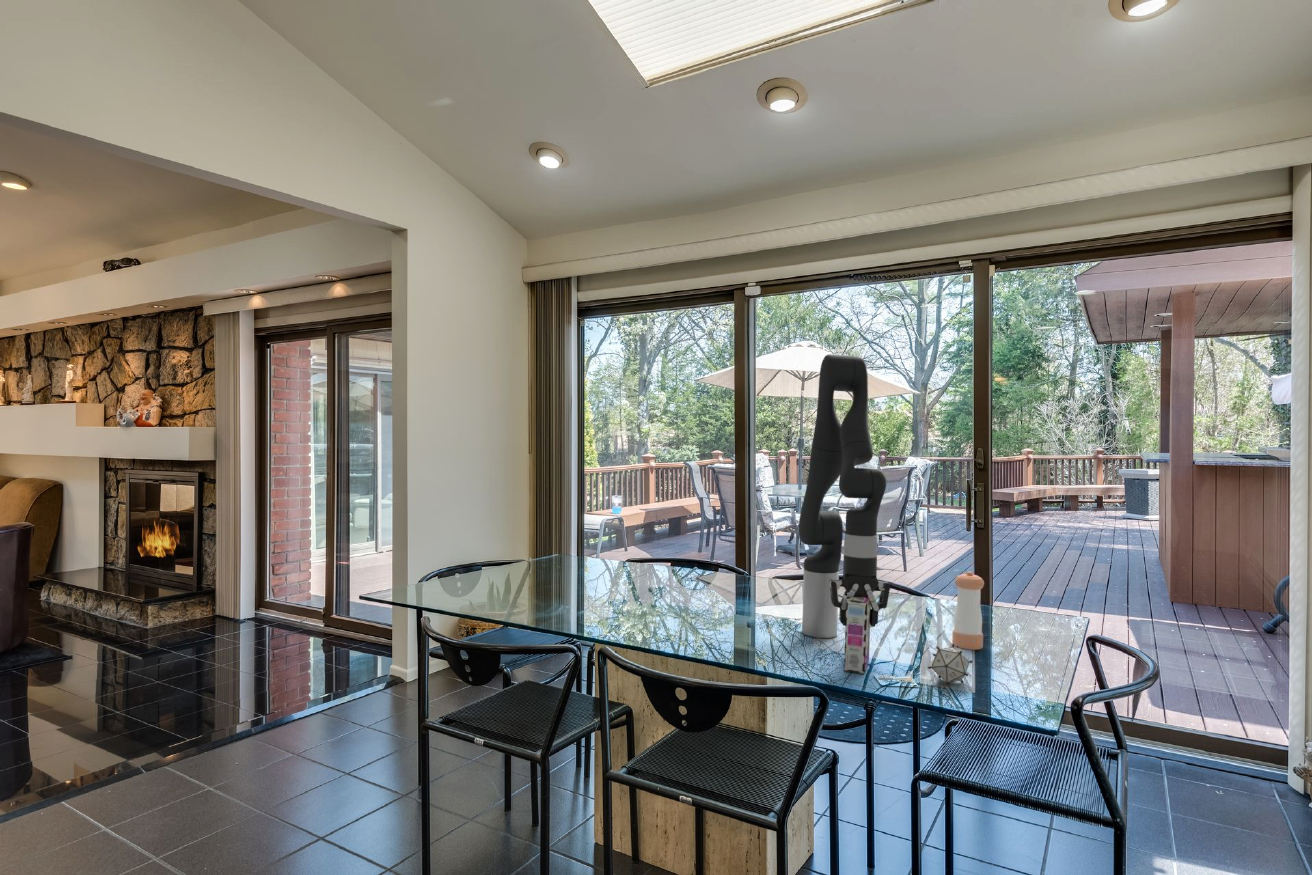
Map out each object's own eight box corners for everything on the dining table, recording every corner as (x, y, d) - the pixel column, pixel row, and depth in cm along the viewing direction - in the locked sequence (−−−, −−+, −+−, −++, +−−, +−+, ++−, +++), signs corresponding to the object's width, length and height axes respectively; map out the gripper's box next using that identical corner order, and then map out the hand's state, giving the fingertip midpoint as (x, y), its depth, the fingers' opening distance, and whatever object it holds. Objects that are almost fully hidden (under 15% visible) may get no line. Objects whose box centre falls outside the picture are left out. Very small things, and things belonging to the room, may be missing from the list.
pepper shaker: (965, 650, 183) (967, 575, 183) (946, 642, 190) (948, 569, 190) (989, 648, 185) (991, 574, 184) (969, 640, 192) (971, 568, 192)
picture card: (873, 676, 162) (873, 674, 162) (910, 677, 161) (910, 676, 161) (881, 686, 156) (881, 684, 156) (918, 687, 155) (918, 685, 155)
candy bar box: (866, 674, 163) (867, 602, 162) (843, 671, 164) (845, 599, 164) (870, 660, 173) (872, 592, 173) (849, 657, 175) (850, 590, 175)
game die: (941, 700, 158) (914, 663, 159) (950, 676, 165) (923, 640, 165) (978, 690, 153) (950, 651, 153) (985, 666, 159) (958, 629, 159)
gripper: (887, 551, 172) (885, 622, 172) (826, 549, 172) (824, 619, 173) (896, 557, 164) (894, 631, 164) (832, 555, 165) (830, 628, 165)
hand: (858, 625), depth 169 cm, fingers closed on candy bar box, 6 cm apart
